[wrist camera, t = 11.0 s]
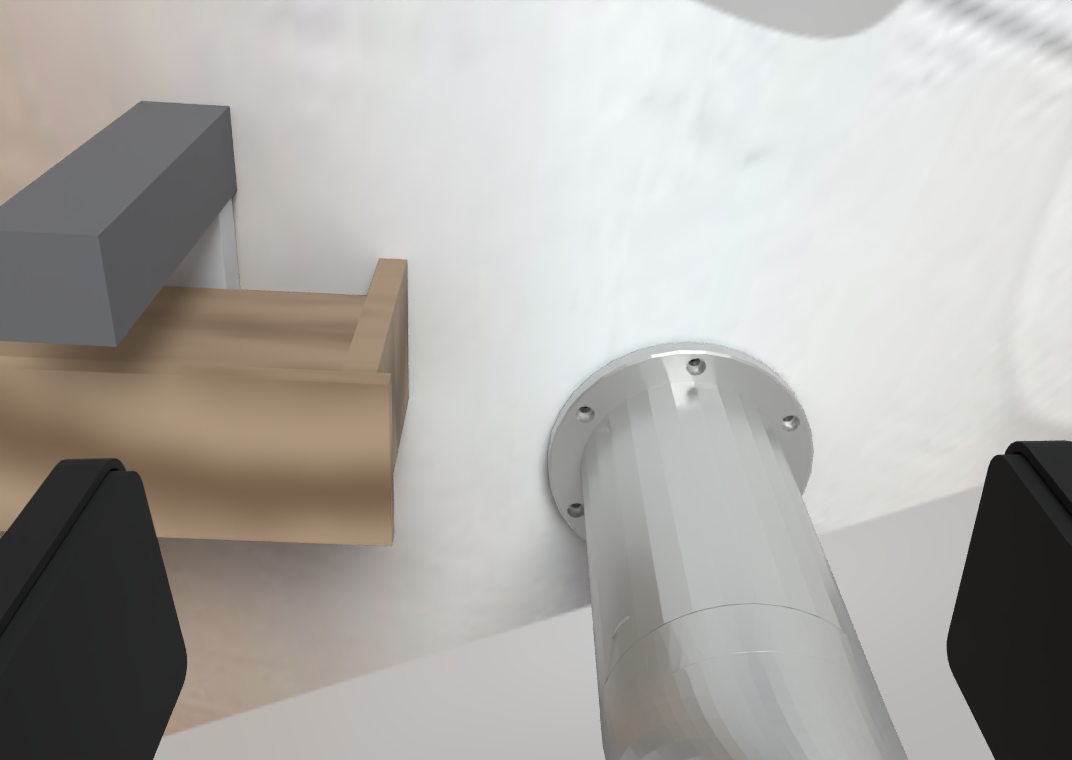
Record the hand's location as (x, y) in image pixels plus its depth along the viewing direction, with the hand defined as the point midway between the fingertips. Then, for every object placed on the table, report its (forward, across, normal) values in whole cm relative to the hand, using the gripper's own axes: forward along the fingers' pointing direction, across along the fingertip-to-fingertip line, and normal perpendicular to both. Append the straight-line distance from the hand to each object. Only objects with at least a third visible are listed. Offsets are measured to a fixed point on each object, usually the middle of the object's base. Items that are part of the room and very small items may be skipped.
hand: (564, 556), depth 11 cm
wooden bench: (+32, +18, +12) cm, 38 cm away
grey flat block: (+31, +15, +8) cm, 36 cm away
